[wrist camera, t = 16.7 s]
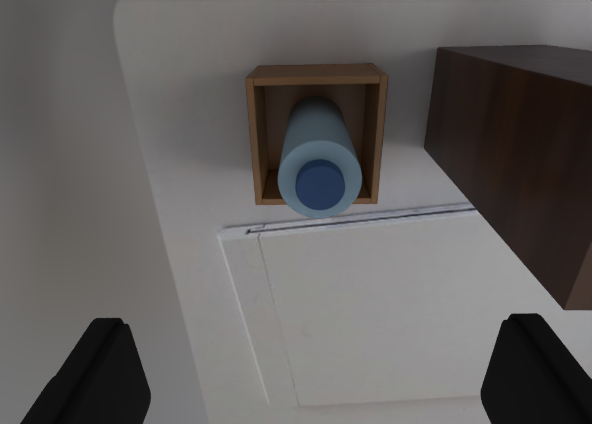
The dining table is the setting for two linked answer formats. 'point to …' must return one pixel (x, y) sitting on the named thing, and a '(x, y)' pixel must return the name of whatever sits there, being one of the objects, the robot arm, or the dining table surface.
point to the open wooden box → (305, 83)
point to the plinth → (522, 153)
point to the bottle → (318, 160)
